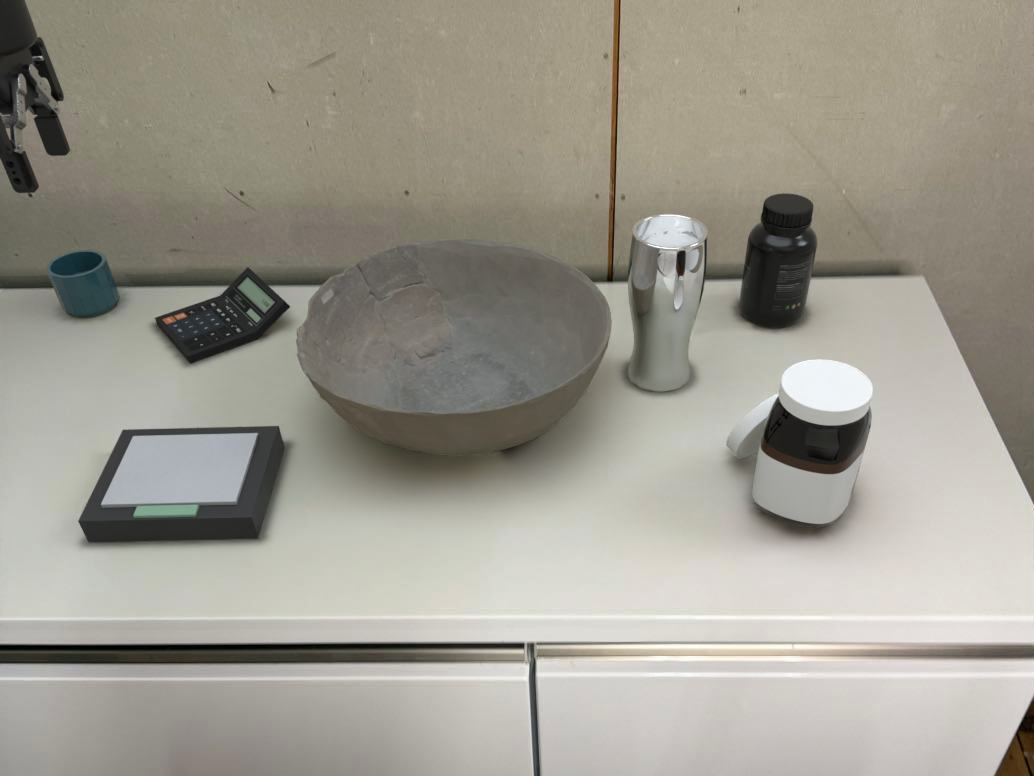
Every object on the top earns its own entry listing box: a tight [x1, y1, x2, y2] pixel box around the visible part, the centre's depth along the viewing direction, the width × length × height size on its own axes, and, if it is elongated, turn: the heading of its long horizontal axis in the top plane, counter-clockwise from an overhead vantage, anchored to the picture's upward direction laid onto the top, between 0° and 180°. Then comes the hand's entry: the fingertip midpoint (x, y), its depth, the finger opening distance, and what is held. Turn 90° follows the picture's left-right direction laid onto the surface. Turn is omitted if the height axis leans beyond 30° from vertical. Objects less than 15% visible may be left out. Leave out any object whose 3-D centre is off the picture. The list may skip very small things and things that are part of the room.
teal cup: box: [46, 249, 120, 318], centre depth 104 cm, size 6×6×5 cm
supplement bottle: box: [738, 192, 818, 329], centre depth 98 cm, size 7×7×12 cm
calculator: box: [154, 266, 291, 365], centre depth 101 cm, size 9×12×3 cm
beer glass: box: [627, 213, 709, 393], centre depth 89 cm, size 7×7×15 cm
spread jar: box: [725, 358, 874, 528], centre depth 78 cm, size 12×11×12 cm
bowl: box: [295, 238, 613, 457], centre depth 88 cm, size 28×28×10 cm
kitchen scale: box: [77, 425, 285, 543], centre depth 82 cm, size 14×12×3 cm
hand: (44, 172), depth 94 cm, fingers open, 8 cm apart
